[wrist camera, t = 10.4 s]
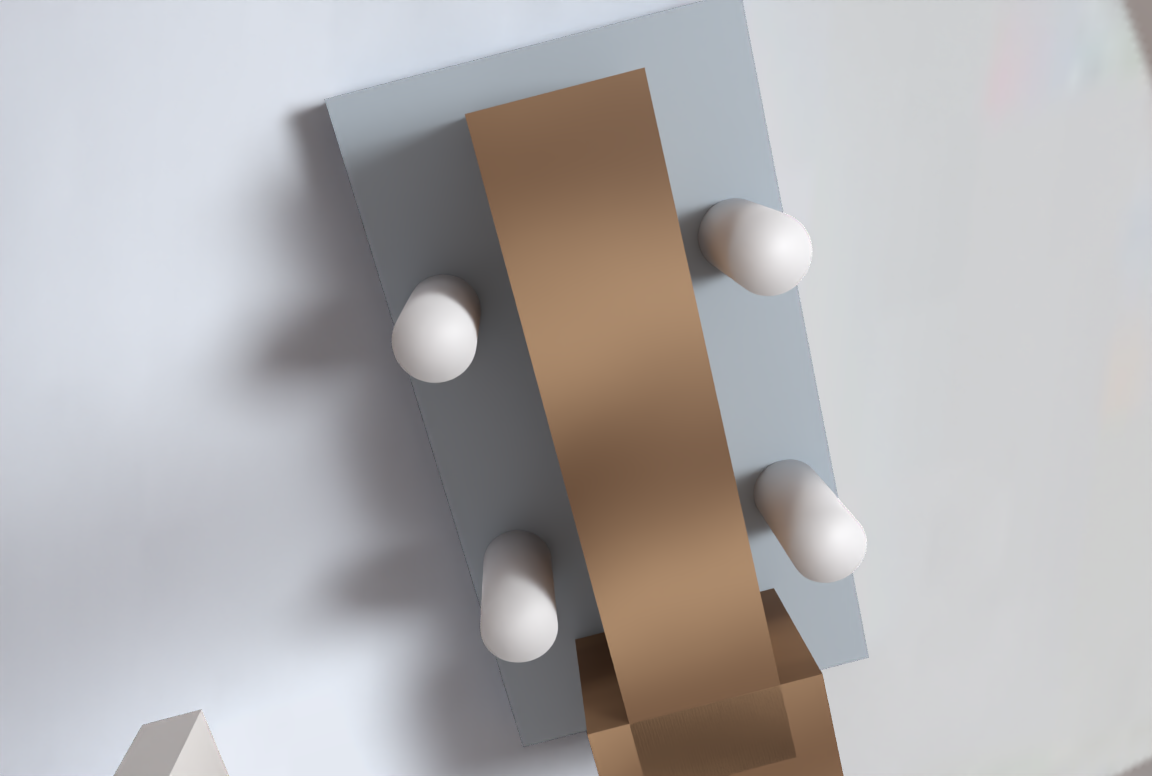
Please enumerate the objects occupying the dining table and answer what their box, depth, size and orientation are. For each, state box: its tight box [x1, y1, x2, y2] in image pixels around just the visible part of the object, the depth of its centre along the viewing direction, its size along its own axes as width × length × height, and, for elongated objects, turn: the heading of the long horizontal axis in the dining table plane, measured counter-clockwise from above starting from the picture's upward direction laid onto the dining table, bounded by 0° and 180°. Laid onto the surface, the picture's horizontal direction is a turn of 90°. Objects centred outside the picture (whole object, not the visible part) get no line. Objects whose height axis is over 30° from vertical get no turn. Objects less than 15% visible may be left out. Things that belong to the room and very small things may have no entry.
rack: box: [325, 0, 869, 747], centre depth 25 cm, size 18×10×5 cm, turn 14°
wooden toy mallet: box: [465, 67, 843, 776], centre depth 24 cm, size 18×6×4 cm, turn 14°
